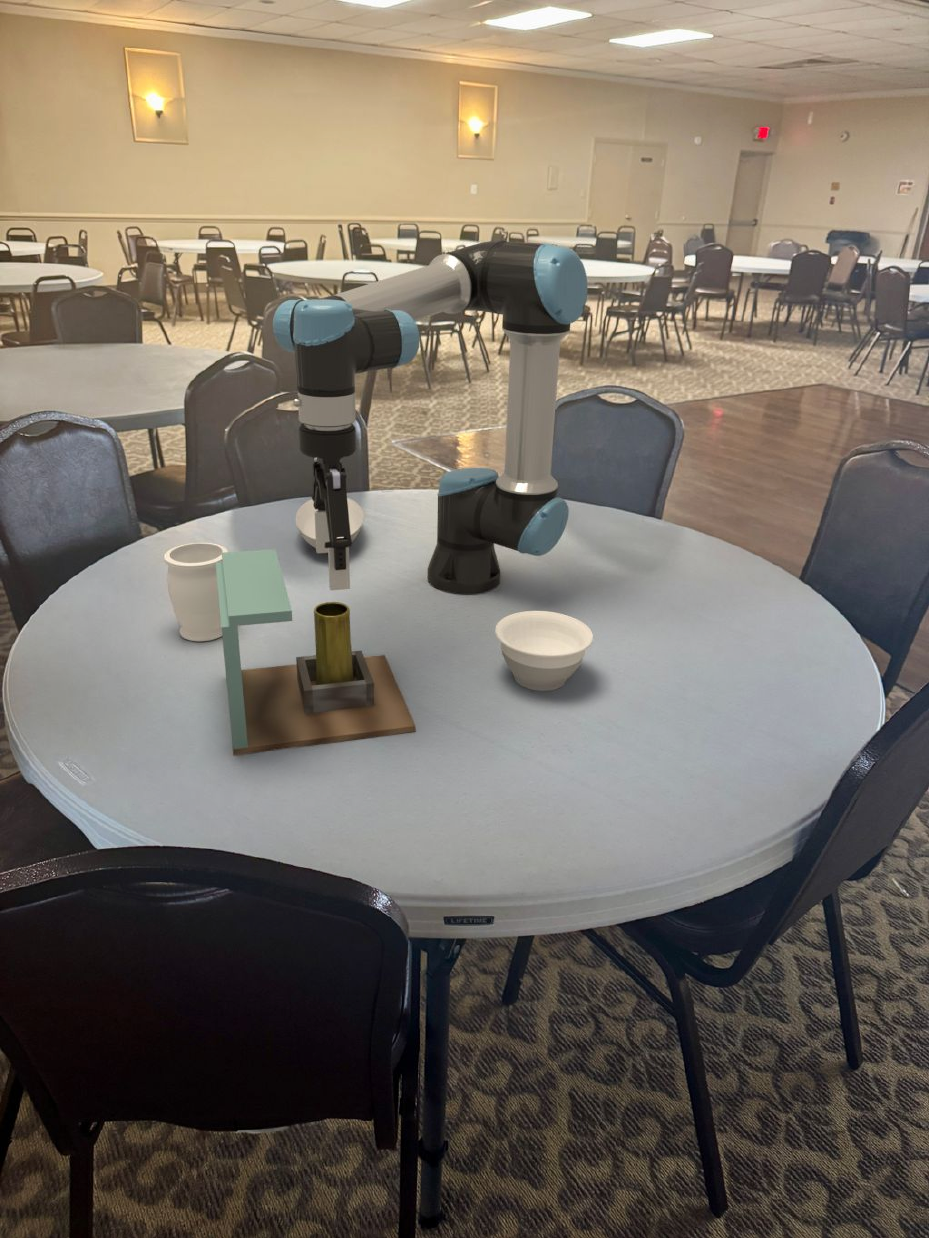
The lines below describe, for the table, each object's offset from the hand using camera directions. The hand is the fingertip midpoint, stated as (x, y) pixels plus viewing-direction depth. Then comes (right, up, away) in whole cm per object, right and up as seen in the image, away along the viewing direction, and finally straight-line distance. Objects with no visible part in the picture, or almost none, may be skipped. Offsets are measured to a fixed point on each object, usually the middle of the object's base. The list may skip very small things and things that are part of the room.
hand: (332, 569), depth 122 cm
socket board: (-4, -20, +8) cm, 22 cm away
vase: (-1, -19, +9) cm, 21 cm away
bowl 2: (+32, -17, +18) cm, 40 cm away
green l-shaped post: (-12, -20, +5) cm, 24 cm away
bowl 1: (-11, +10, +69) cm, 71 cm away
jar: (-27, -10, +27) cm, 40 cm away
